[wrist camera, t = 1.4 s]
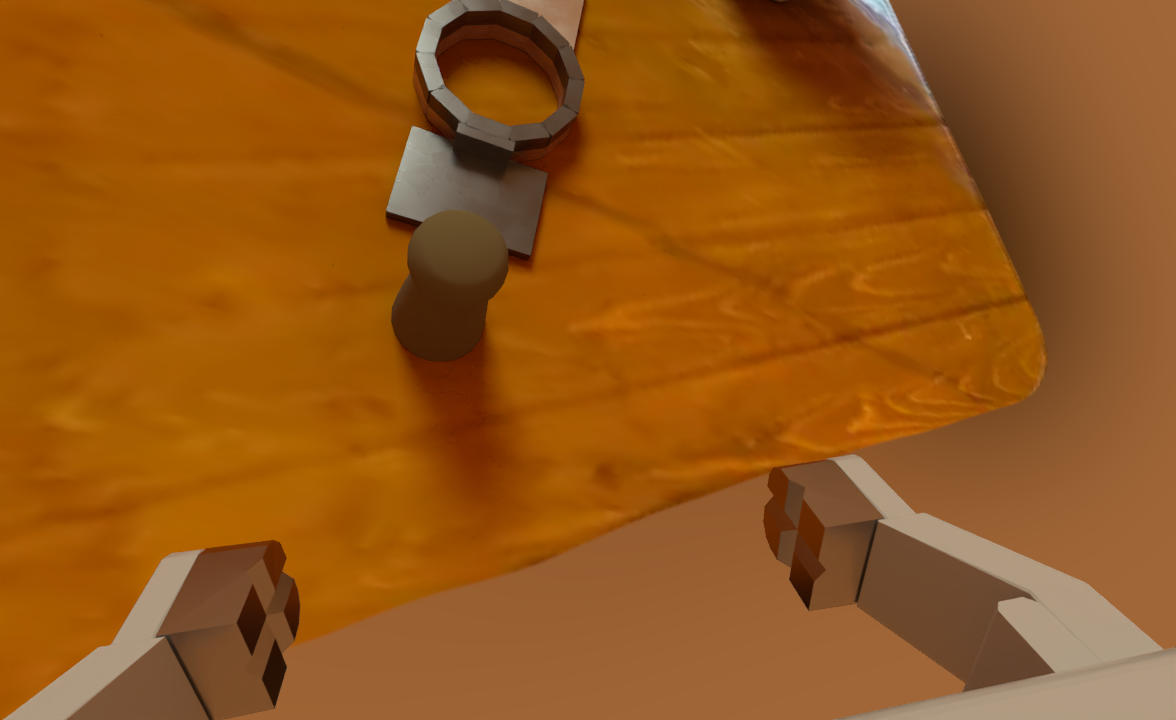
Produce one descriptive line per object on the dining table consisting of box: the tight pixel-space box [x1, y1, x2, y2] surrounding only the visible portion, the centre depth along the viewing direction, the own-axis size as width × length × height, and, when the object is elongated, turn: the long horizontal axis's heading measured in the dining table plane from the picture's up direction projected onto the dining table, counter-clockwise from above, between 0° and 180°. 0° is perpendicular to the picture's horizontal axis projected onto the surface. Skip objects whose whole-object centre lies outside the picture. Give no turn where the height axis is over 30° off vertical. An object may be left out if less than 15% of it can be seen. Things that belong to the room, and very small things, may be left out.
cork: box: [391, 209, 508, 361], centre depth 35 cm, size 6×6×11 cm
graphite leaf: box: [386, 0, 585, 260], centre depth 44 cm, size 12×19×3 cm, turn 171°
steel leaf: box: [413, 0, 584, 162], centre depth 47 cm, size 12×19×1 cm, turn 171°
